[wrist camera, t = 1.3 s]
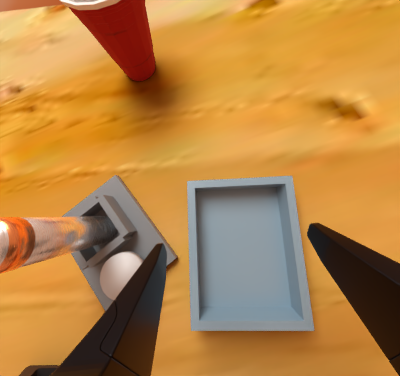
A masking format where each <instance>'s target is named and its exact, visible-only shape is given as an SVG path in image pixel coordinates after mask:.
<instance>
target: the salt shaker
mask: <svg viewBox="0 0 400 376" xmlns="http://www.w3.org/2000/svg"><path fill="white" fill-rule="evenodd" d="M117 231H118V230H117V228H116V227H115V225H114V224H113V222H112V221H111V220H110V218H109V217H108V216H88V217H37V218H19V217H3V218H0V274H1V273H4V272H8V271H11V270H14V269H17V268H19V267H23V266H26V265H30V264H34V263H37V262H41V261H44V260H48V259H51V258H55V257H59V256H62V255H66V254H69V253H73V252H76V251H80V250H83V249H87V248H91V247H94V246H98V245H101V244H105V243H108V242H110V241H112V240H113V239H114V238H115V236H116V234H117Z"/></svg>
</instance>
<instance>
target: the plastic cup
mask: <svg viewBox="0 0 400 376" xmlns="http://www.w3.org/2000/svg"><path fill="white" fill-rule="evenodd" d="M60 1H61V2H62V3H63V4H64V5H65V6H67V7H69V8H70V9H71V11H72V12H73V13H74V14H75V15H76V16H77V17H78V18H79V19H80V21H81V22H82V23H83V24H84V25H85V26H86V27H87V28H88V29H89V31H90V32H91V33H92V34H93V36H94V37H95V38H96V39H97V40H98V42H99V43H100V44H101V45H102V47H103V48H104V49H105V50H106V51H107V53H108V54H109V55H110V56H111V58H112V59H113V60H114V61H115V62H116V63H117V64H118V65H119V66H120V68H121V69H122V70H123V71H124V73H125V74H126V75H127V76H128V77H130V79H132V80H135V81H143V80H146V79H148V78H149V77H151V76H152V75H153V73H154V71H155V58H154V53H153V45H152V39H151V34H150V28H149V23H148V18H147V12H146V7H145V0H60Z"/></svg>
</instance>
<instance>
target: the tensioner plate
mask: <svg viewBox="0 0 400 376" xmlns="http://www.w3.org/2000/svg"><path fill="white" fill-rule="evenodd" d="M88 216H108V217H109V218H110V220H111V221H112V222H113V224H114V225H115V227H116V228H117V230H118V231H117V234H116V236H115V238H114V239H113V240H112V241H110V242H108V243H105V244H101V245H98V246H94V247H91V248H87V249H83V250H80V251H76V252H73V253H71V254H72V256H73V257H74V259H75V261H76V262H77V264H78V266H79V268H80V269H81V271H82V273H83V274H84V276H85V278H86V279H87V281H88V283H89V284H90V286H91V288H92V289H93V291H94V293H95V295H96V296H97V298H98V300H99V301H100V303H101V305H102V306H103V308H104V310H105V311H106V310H107V309H108V308H109V306H110V305H111V304H112V302H113V301H114V300H115V299H116V297H117V296H118V294H119V293H120V292H121V290H122V289H123V288H124V286H125V285H126V284H127V282H128V281H129V280H130V278H131V277H132V276H133V274H134V273H135V272H136V270H137V269H138V268H139V266H140V265H141V264H142V262H143V261H144V260H145V258H146V257H147V256H148V254H149V253H150V252H151V250H152V249H153V248H154V246H155V245H156V244H157V243H163V244H164V246H165V248H166V251H167V265H169V264H170V263H171V262H172V261H173V260H175V259H176V258H177V255H176V254H175V252H174V251H173V250H172V248H171V247H170V246H169V244H168V243H167V241H166V240H165V239H164V237H163V236H162V235H161V233H160V232H159V230H158V229H157V228H156V226H155V225H154V224H153V222H152V221H151V219H150V218H149V217H148V215H147V214H146V213H145V211H144V210H143V209H142V207H141V206H140V204H139V203H138V202H137V200H136V199H135V198H134V196H133V195H132V193H131V192H130V191H129V189H128V188H127V187H126V185H125V184H124V182H123V181H122V180H121V178H120V177H119V176H117V175H115V176H113V177H112V178H111V179H110V180H108V181H107V182H106V183H104V184H103V185H102V186H101V187H99V188H98V189H97V190H95V191H94V192H93V193H92V194H90V195H89V196H88V197H86V198H85V199H84V200H83V201H81V202H80V203H79V204H77V205H76V206H75V207H74V208H72V209H71V210H70V211H68V212H67V213H66V214H65V215H63V216H62V217H88ZM167 265H166V266H167Z"/></svg>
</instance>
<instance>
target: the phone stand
mask: <svg viewBox="0 0 400 376" xmlns="http://www.w3.org/2000/svg"><path fill="white" fill-rule="evenodd" d="M58 367H59V366H58ZM58 367H57V365H37V366H28V367H26V368H25V369H24V370H23V372H22V373H21V374H20V375H19V376H50V375H51V374H52V373H53V372H54V371H55V370H56V369H57V368H58Z"/></svg>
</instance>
